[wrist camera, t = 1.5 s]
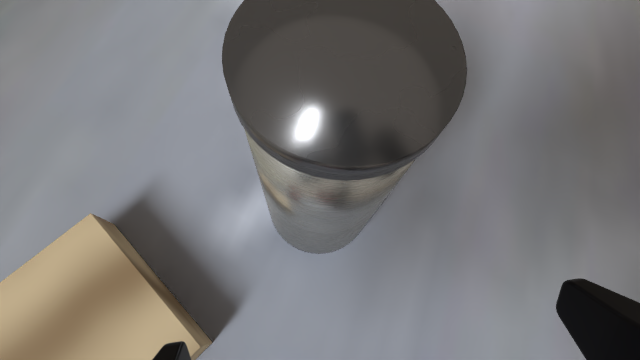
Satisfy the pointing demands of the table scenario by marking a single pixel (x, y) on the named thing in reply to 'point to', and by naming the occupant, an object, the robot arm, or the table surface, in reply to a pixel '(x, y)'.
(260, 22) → the canister
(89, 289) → the oak board
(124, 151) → the table surface
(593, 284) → the robot arm
